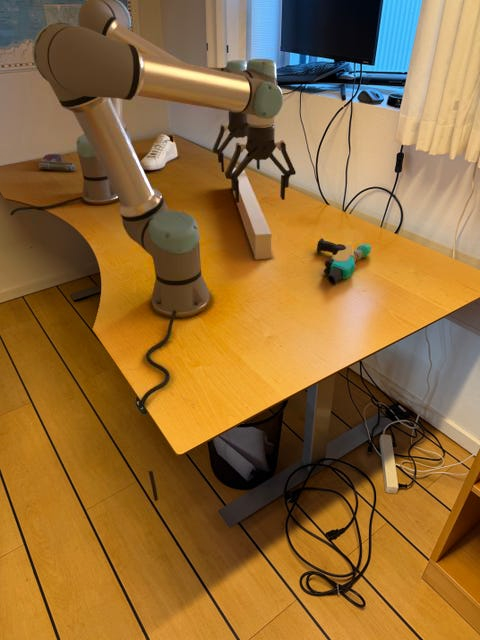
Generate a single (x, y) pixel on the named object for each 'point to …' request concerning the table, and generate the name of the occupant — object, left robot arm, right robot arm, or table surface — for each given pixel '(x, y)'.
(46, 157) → the toy gun
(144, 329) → the table surface
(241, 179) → the beam
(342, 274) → the toy gun
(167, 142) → the sneaker
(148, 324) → the table surface
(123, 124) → the left robot arm
